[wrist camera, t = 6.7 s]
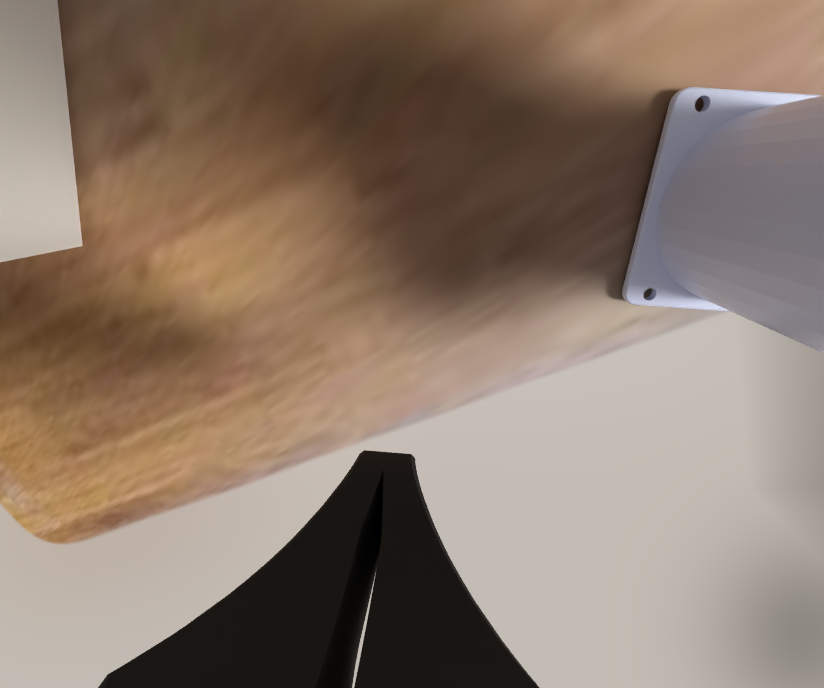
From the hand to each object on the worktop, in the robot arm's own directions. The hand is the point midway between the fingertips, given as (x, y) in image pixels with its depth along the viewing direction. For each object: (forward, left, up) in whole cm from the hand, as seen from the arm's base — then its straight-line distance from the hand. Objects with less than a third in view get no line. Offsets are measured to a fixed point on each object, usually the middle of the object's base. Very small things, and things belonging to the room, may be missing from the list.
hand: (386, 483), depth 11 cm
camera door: (+14, -9, -9) cm, 19 cm away
